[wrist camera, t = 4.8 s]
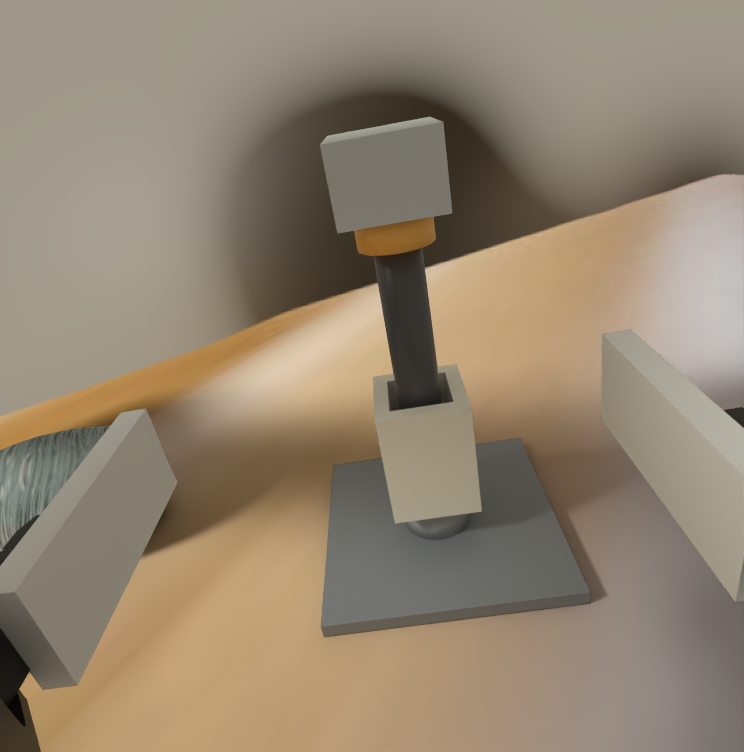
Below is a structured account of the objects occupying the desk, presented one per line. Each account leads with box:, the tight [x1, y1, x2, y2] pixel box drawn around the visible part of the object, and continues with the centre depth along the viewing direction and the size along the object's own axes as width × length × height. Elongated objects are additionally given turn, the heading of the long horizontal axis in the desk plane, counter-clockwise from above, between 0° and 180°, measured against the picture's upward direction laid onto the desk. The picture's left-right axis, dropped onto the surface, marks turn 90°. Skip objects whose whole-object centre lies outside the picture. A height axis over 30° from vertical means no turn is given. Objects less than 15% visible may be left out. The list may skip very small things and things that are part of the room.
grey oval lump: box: [0, 425, 167, 551], centre depth 38 cm, size 14×10×10 cm
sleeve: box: [373, 364, 482, 524], centre depth 32 cm, size 5×5×7 cm
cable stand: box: [320, 117, 590, 637], centre depth 29 cm, size 14×14×23 cm
